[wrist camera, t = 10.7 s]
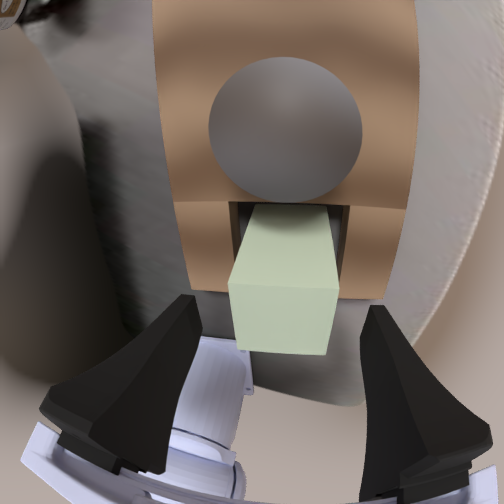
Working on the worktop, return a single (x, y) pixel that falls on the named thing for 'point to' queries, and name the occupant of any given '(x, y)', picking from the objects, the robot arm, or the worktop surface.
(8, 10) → the pill bottle
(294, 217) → the peg
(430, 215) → the worktop surface
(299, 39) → the notched board
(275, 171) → the bobbin
